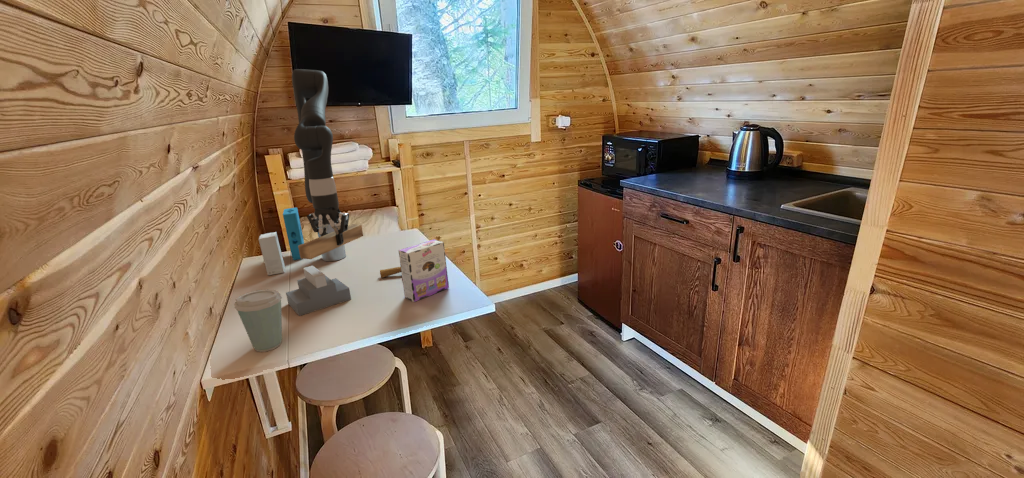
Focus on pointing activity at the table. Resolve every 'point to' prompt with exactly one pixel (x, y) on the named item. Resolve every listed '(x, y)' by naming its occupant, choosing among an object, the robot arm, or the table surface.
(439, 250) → the candy box
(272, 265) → the skincare box
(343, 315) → the table surface
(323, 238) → the oak beam
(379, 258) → the table surface
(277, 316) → the disposable coffee cup
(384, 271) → the kendama
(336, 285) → the ridge stand
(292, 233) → the block
